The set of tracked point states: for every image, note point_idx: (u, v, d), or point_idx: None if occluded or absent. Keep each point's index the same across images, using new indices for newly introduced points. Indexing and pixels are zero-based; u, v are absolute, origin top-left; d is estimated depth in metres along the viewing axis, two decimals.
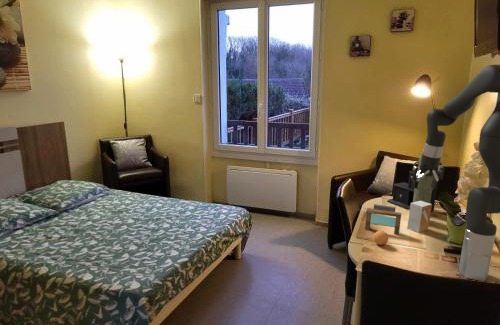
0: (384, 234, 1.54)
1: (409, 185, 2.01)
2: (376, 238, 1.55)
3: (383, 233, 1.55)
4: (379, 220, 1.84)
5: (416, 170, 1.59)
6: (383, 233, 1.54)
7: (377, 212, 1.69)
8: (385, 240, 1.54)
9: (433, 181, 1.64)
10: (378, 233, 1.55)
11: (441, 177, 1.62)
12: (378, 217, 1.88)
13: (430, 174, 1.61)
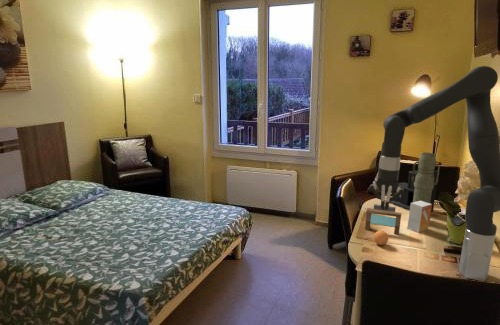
0: (384, 234, 1.54)
1: (408, 185, 2.01)
2: (376, 238, 1.55)
3: (383, 233, 1.55)
4: (379, 220, 1.84)
5: None
6: (383, 233, 1.54)
7: (377, 212, 1.69)
8: (385, 240, 1.54)
9: (384, 202, 1.44)
10: (378, 233, 1.55)
11: None
12: (378, 217, 1.88)
13: None
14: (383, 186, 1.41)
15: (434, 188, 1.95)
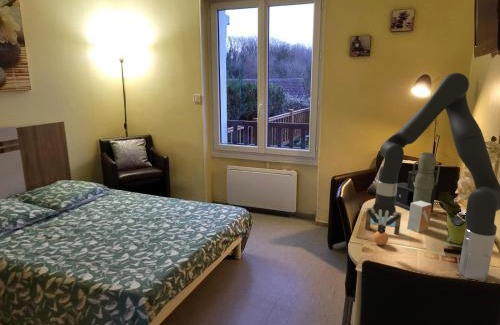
0: (384, 234, 1.54)
1: (408, 185, 2.01)
2: (376, 238, 1.55)
3: (383, 233, 1.55)
4: None
5: None
6: (383, 233, 1.54)
7: None
8: (385, 240, 1.54)
9: None
10: (378, 233, 1.55)
11: None
12: (378, 217, 1.88)
13: None
14: (380, 211, 1.44)
15: (434, 188, 1.95)
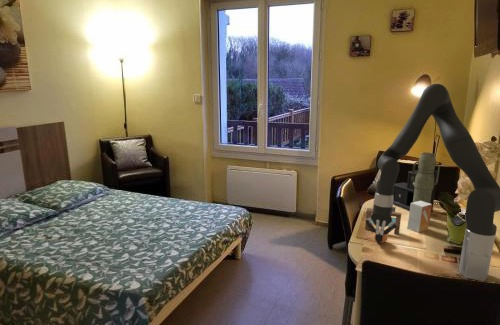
0: None
1: (408, 185, 2.01)
2: None
3: None
4: None
5: None
6: None
7: None
8: (385, 235, 1.56)
9: None
10: None
11: None
12: None
13: None
14: (378, 221, 1.52)
15: (433, 188, 1.95)
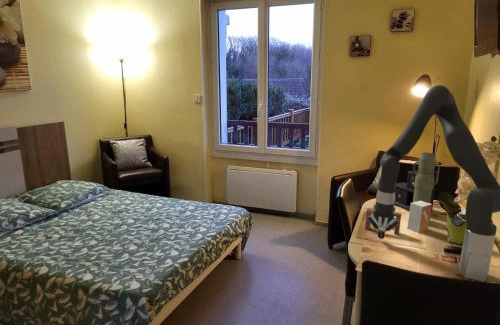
0: None
1: (407, 185, 2.01)
2: None
3: None
4: None
5: None
6: None
7: None
8: None
9: None
10: None
11: None
12: None
13: None
14: (380, 218, 1.56)
15: (433, 188, 1.94)
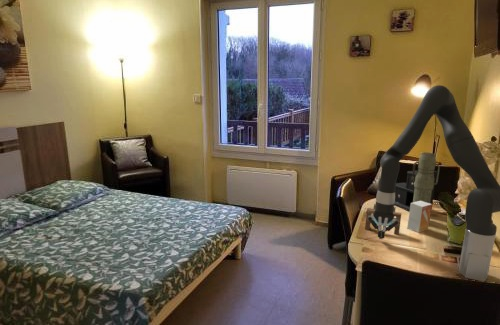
0: None
1: (407, 185, 2.01)
2: None
3: None
4: None
5: None
6: None
7: None
8: None
9: None
10: None
11: None
12: None
13: None
14: (380, 218, 1.56)
15: None
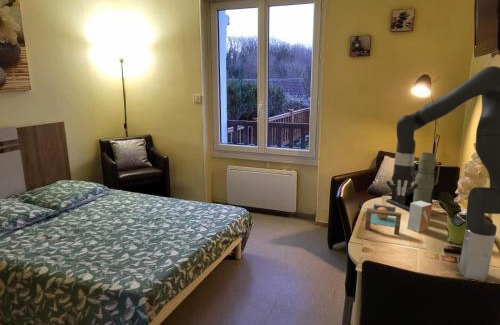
0: (383, 218, 1.85)
1: None
2: None
3: (383, 218, 1.85)
4: (379, 220, 1.84)
5: None
6: (382, 218, 1.85)
7: (377, 212, 1.69)
8: None
9: None
10: (379, 217, 1.86)
11: None
12: (378, 217, 1.88)
13: None
14: (399, 181, 1.50)
15: None
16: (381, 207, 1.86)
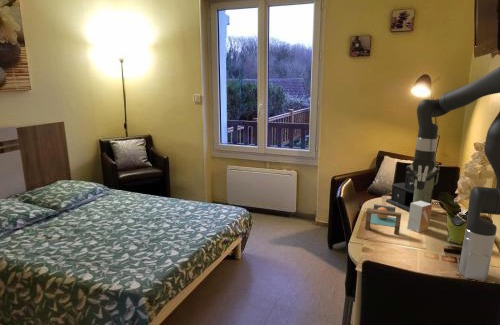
0: (383, 218, 1.85)
1: (406, 185, 2.01)
2: None
3: (383, 218, 1.85)
4: (379, 220, 1.84)
5: None
6: (382, 218, 1.85)
7: (377, 212, 1.69)
8: None
9: None
10: (379, 217, 1.86)
11: None
12: (378, 217, 1.88)
13: None
14: (420, 166, 1.49)
15: None
16: (381, 207, 1.86)
